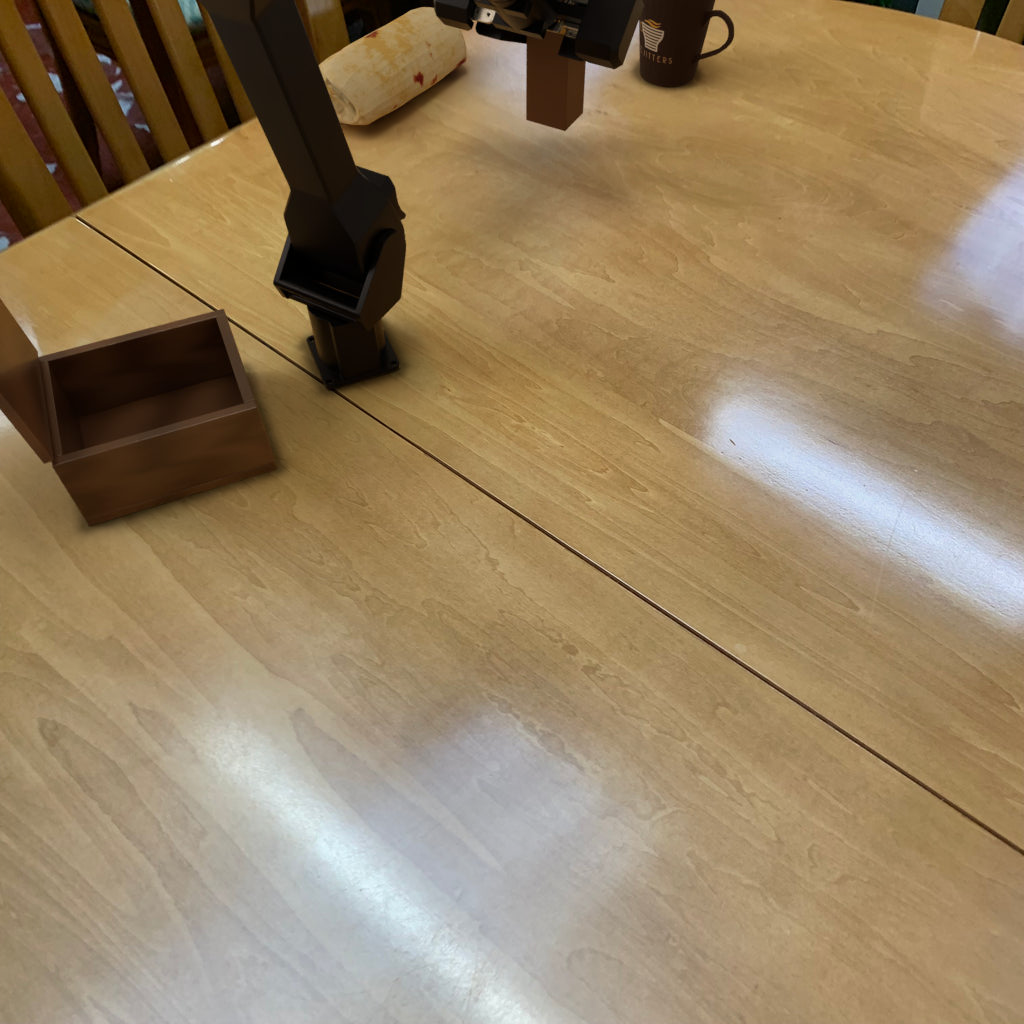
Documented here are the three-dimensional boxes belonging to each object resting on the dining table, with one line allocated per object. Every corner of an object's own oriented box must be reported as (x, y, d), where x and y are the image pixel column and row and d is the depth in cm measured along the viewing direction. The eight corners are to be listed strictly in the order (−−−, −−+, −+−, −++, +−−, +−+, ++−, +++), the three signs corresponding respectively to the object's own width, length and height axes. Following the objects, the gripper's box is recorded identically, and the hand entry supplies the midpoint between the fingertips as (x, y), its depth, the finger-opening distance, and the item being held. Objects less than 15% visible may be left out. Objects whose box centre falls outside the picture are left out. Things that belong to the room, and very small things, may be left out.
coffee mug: (618, 61, 109) (626, -30, 101) (686, 49, 110) (699, -41, 102) (657, 110, 102) (669, 17, 94) (729, 98, 103) (746, 4, 95)
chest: (244, 371, 77) (223, 308, 72) (277, 469, 71) (257, 407, 65) (71, 419, 74) (35, 357, 69) (89, 526, 68) (51, 466, 62)
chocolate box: (565, 131, 93) (570, 1, 83) (525, 120, 94) (525, -10, 84) (583, 113, 95) (591, -17, 85) (544, 101, 96) (546, -27, 86)
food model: (362, 150, 99) (474, 76, 109) (362, 93, 93) (481, 21, 103) (293, 108, 101) (410, 39, 111) (290, 50, 95) (413, -17, 106)
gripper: (647, -118, 71) (683, -20, 86) (441, -157, 77) (508, -59, 91) (595, 30, 73) (639, 101, 88) (398, -19, 79) (470, 55, 93)
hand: (563, 45), depth 90 cm, fingers closed on chocolate box, 4 cm apart
